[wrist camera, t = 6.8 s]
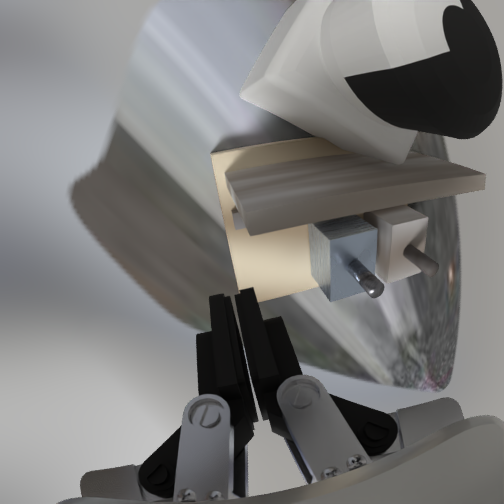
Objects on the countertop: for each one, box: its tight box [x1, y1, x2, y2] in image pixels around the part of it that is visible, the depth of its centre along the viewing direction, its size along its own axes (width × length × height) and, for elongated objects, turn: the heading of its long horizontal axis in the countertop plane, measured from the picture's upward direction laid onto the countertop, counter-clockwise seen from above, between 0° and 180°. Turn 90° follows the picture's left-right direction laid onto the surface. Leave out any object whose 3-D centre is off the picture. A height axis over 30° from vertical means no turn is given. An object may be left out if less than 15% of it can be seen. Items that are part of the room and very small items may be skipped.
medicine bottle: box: [239, 0, 502, 165], centre depth 9 cm, size 7×7×12 cm
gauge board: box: [210, 137, 486, 302], centre depth 15 cm, size 10×13×8 cm
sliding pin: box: [308, 214, 384, 302], centre depth 15 cm, size 4×3×6 cm
